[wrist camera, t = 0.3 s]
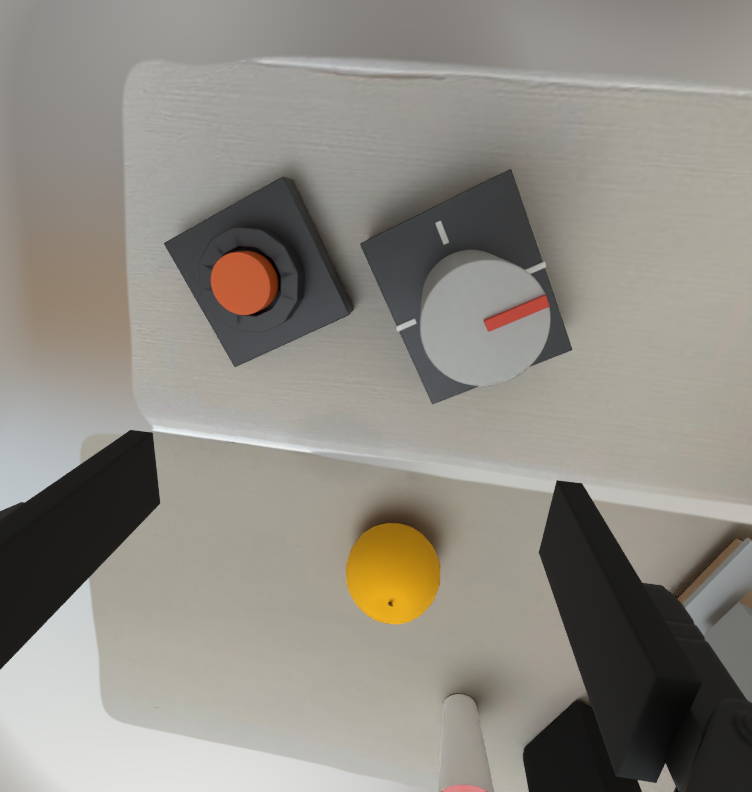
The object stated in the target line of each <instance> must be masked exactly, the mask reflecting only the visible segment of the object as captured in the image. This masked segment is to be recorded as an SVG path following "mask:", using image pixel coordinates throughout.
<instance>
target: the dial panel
mask: <svg viewBox="0 0 752 792" xmlns="http://www.w3.org/2000/svg"><path fill="white" fill-rule="evenodd" d="M360 245H361V247H362V249H363V252H364V254H365V256H366V258H367V261H368V263H369V265H370V267H371V269H372V272H373V274H374V276H375V278H376V280H377V283H378V285H379V287H380V289H381V292H382V294H383V296H384V298H385V300H386V303H387V305H388V307H389V309H390V312H391V314H392V316H393V318H394V320H395V323H396V325H397V326H396V329H397V332H398V331H400V334H401V336H402V338H403V340H404V343H405V345H406V347H407V349H408V351H409V354H410V356H411V358H412V360H413V363H414V365H415V367H416V369H417V371H418V374H419V376H420V378H421V380H422V383H423V385H424V387H425V389H426V391H427V394H428V396H429V398H430V400H431V402H432V404H434V403H437V402H439V401H442V400H445V399H447V398H450V397H452V396H455V395H457V394H460V393H463V392H465V391H468V390H470V389H473V388H476V387H478V386H473V385H467V384H463V383H460V382H457V381H455V380H453V379H451V378H449V377H448V376H446V375H444V374H443V373H442V372H441V371H440V370H438V369H437V368H436V366H435V365H434V364H433V363H432V362H431V360H430V359H429V357H428V356H427V354H426V352H425V350H424V347H423V344H422V340H421V336H420V315H421V301H422V291H423V286H424V283H425V280H426V278H427V276H428V275H429V273H430V271H431V270H432V269H433V268H434V266H435V265H436V264H437V263H438V262H439V261H441V260H442V259H443V258H445V257H447V256H448V255H450V254H453V253H455V252H458V251H462V250H480V251H484V252H487V253H490V254H492V255H494V256H497V257H499V258H501V259H504V260H506V261H508V262H511V263H513V264H515V265H517V266H519V267H521V268H523V269H524V270H526V271H527V272H528V273H529V274H531V275H532V276H533V277H534V278H535V279H536V281H537V282H538V283H539V284H540V286H541V287H542V289H543V291H544V293H545V295H546V297H547V300H548V303H549V308H550V329H549V334H548V337H547V341H546V343H545V345H544V348H543V349H542V351H541V353H540V354H539V356H538V357H537V359H536V360H535V361H534V362H533V363H532V364H531V365H530V366H532V365H535V364H537V363H540V362H543V361H545V360H548V359H550V358H553V357H556V356H558V355H561V354H563V353H566V352H568V351H571V350H572V347H571V344H570V341H569V338H568V335H567V332H566V329H565V326H564V323H563V320H562V318H561V315H560V312H559V309H558V306H557V303H556V300H555V297H554V294H553V291H552V288H551V285H550V282H549V279H548V276H547V273H546V271H545V267H547V266H546V263H545V261H544V262H542V259H541V256H540V253H539V250H538V247H537V244H536V241H535V238H534V235H533V232H532V229H531V226H530V224H529V221H528V218H527V215H526V212H525V209H524V206H523V203H522V200H521V197H520V194H519V191H518V188H517V185H516V182H515V179H514V177H513V174H512V171H511V169H510V170H508V171H506V172H504V173H502V174H500V175H498V176H496V177H493V178H491V179H489V180H487V181H485V182H483V183H481V184H479V185H477V186H475V187H473V188H471V189H469V190H467V191H465V192H463V193H461V194H459V195H457V196H455V197H453V198H451V199H449V200H447V201H445V202H443V203H441V204H439V205H437V206H435V207H433V208H431V209H429V210H427V211H425V212H423V213H421V214H419V215H417V216H415V217H413V218H411V219H409V220H407V221H405V222H403V223H401V224H399V225H397V226H395V227H393V228H391V229H389V230H387V231H385V232H383V233H381V234H379V235H377V236H375V237H373V238H371V239H368V240H366V241H364V242H362V243H361V244H360ZM530 366H529V367H530Z"/></svg>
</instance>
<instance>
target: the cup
mask: <svg viewBox="0 0 752 792" xmlns="http://www.w3.org/2000/svg"><path fill="white" fill-rule="evenodd" d="M438 792H494V789H493V784H492V779H491V774H490V769H489V764H488V759H487V755H486V750H485V745H484V740H483V735H482V730H481V725H480V720H479V716H478V711H477V707H476V703H475V701H474V700H473V699H472V698H470V697H469V696H466V695H463V694H455V695H451V696H449V697H448V698H446V699H445V701H444V707H443V719H442V733H441V749H440V764H439V781H438Z"/></svg>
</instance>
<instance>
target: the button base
mask: <svg viewBox="0 0 752 792" xmlns="http://www.w3.org/2000/svg"><path fill="white" fill-rule="evenodd" d="M164 244H165V246H166V248H167V250H168V251H169V253H170V255H171V257H172V258H173V260H174V262H175V264H176V265H177V267H178V269H179V271H180V272H181V274H182V276H183V278H184V279H185V281H186V283H187V284H188V286H189V288H190V290H191V291H192V293H193V295H194V297H195V298H196V300H197V302H198V304H199V305H200V307H201V309H202V311H203V312H204V314H205V316H206V318H207V319H208V321H209V323H210V325H211V326H212V328H213V330H214V332H215V333H216V335H217V337H218V339H219V340H220V342H221V344H222V346H223V347H224V349H225V351H226V352H227V354H228V356H229V358H230V359H231V361H232V363H233V365H234V366H235V367H236V366H239V365H241V364H243V363H245V362H247V361H250V360H252V359H254V358H256V357H258V356H260V355H263V354H265V353H267V352H269V351H271V350H274V349H276V348H278V347H280V346H282V345H284V344H287V343H289V342H291V341H293V340H295V339H298V338H300V337H302V336H304V335H306V334H308V333H311V332H313V331H315V330H317V329H319V328H322V327H324V326H326V325H328V324H330V323H332V322H335V321H337V320H339V319H341V318H343V317H346V316H348V315H349V314H350V313H351V312H352V311H353V310H354V308H353V306H352V304H351V302H350V300H349V298H348V295H347V293H346V291H345V289H344V287H343V285H342V283H341V281H340V279H339V276H338V274H337V272H336V270H335V268H334V266H333V264H332V262H331V260H330V257H329V255H328V253H327V251H326V249H325V247H324V245H323V243H322V241H321V238H320V236H319V234H318V232H317V230H316V228H315V226H314V224H313V222H312V219H311V217H310V215H309V213H308V211H307V209H306V207H305V205H304V203H303V200H302V198H301V196H300V194H299V192H298V190H297V188H296V186H295V184H294V181H293V180H292V179H289V178H286V177H281V178H279V179H278V180H276V181H274V182H272V183H270V184H269V185H267V186H265V187H263V188H262V189H260V190H258V191H256V192H254V193H253V194H251V195H249V196H247V197H245V198H244V199H242V200H240V201H238V202H237V203H235V204H233V205H231V206H229V207H228V208H226V209H224V210H222V211H220V212H219V213H217V214H215V215H213V216H212V217H210V218H208V219H206V220H204V221H203V222H201V223H199V224H197V225H195V226H194V227H192V228H190V229H188V230H186V231H185V232H183V233H181V234H179V235H178V236H176V237H174V238H172V239H170V240H169V241H167V242H165V243H164ZM240 251H253V252H256V253H259V254H261V255H262V256H264V257H265V258H266V259H268V261H269V262H270V263H271V264H272V265H273V267H274V269H275V271H276V274H277V277H278V291H277V294H276V296H275V298H274V300H273V301H272V303H271V304H270V305H268V306H267V307H265V308H264V309H262V310H260V311H258V312H256V313H253V314H249V315H239V314H235V313H232V312H230V311H229V310H227V309H226V308H224V307H223V306H222V305H221V304H220V303H219V302H218V300H217V299H216V297H215V295H214V293H213V290H212V286H211V273H212V270H213V267H214V265H215V264H216V262H217V261H218V260H219V259H220V258H221V257H223V256H224V255H226V254H229V253H232V252H240Z"/></svg>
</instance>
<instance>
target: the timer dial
mask: <svg viewBox="0 0 752 792" xmlns="http://www.w3.org/2000/svg"><path fill="white" fill-rule="evenodd" d="M549 329H550V308H549V303H548V300H547V297H546V295H545V293H544V291H543V289H542V287H541V286H540V284H539V283H538V282H537V281H536V279H535V278H534V277H533V276H532V275H531V274H529V273H528V272H527V271H526V270H524V269H523V268H521V267H519V266H517V265H515V264H513V263H511V262H508V261H506V260H504V259H501V258H499V257H497V256H494V255H492V254H490V253H487V252H484V251H480V250H462V251H458V252H455V253H453V254H450V255H448V256H447V257H445V258H443V259H442V260H441V261H439V262H438V263H437V264H436V265H435V266H434V268H433V269H432V270H431V271H430V273H429V275H428V276H427V278H426V280H425V283H424V286H423V291H422V301H421V315H420V336H421V340H422V344H423V347H424V350H425V352H426V354H427V356H428V357H429V359H430V360H431V362H432V363H433V364H434V365H435V366H436V368H437V369H438V370H440V371H441V372H442V373H443V374H444V375H446V376H448V377H449V378H451V379H453V380H455V381H457V382H460V383H463V384H467V385H473V386H490V385H495V384H499V383H503V382H506V381H508V380H510V379H512V378H514V377H516V376H518V375H519V374H521V373H522V372H523V371H525V370H526V369H527V368H528V367H529V366H530V365H531V364H532V363H533V362H534V361H535V360H536V359H537V357H538V356H539V354H540V353H541V351H542V349H543V348H544V345H545V343H546V341H547V337H548V334H549Z"/></svg>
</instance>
